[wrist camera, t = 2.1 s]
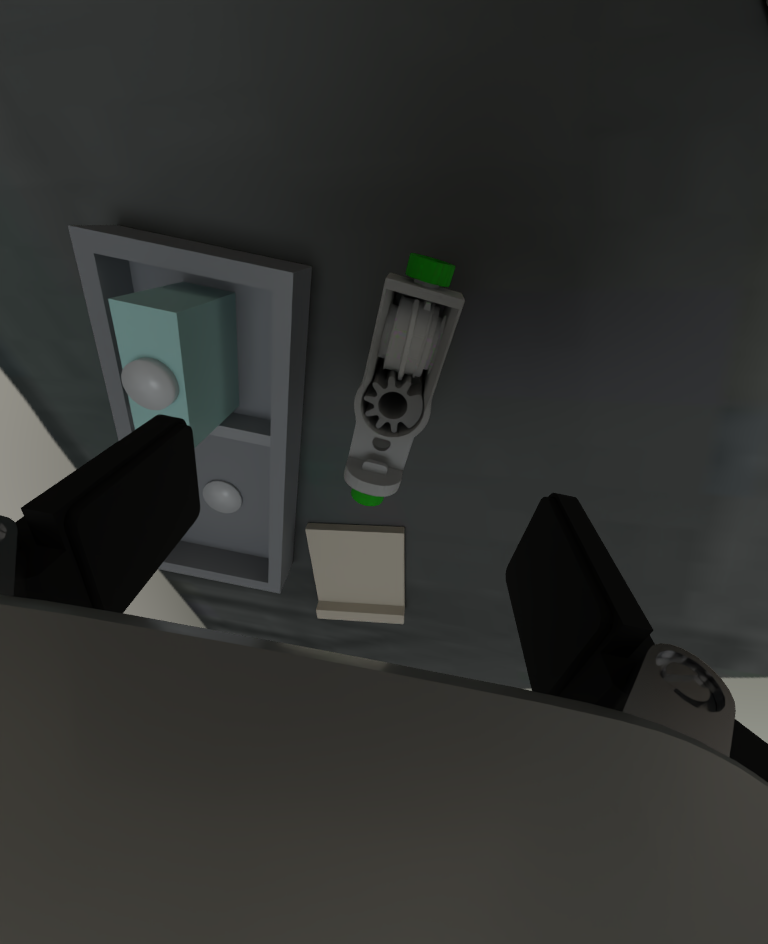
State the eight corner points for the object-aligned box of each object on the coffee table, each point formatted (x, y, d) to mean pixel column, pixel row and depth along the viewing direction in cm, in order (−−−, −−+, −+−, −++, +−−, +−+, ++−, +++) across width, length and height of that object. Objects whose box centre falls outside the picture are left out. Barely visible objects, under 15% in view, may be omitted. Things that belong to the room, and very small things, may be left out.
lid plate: (307, 522, 32) (301, 537, 30) (404, 526, 31) (403, 542, 29) (322, 602, 37) (317, 618, 36) (404, 607, 36) (403, 624, 35)
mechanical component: (364, 411, 26) (332, 500, 17) (405, 239, 20) (387, 248, 12) (406, 422, 26) (395, 516, 18) (458, 254, 20) (478, 275, 12)
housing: (117, 225, 21) (-16, 225, 15) (312, 266, 21) (262, 283, 15) (172, 537, 34) (114, 608, 28) (292, 562, 35) (261, 638, 28)
